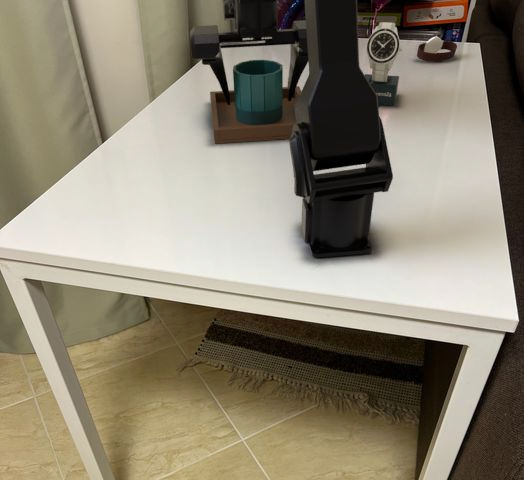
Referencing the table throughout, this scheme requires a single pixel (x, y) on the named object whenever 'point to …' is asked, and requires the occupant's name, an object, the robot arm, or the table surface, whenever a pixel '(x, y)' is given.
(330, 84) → the robot arm
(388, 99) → the watch
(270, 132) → the tray
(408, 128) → the table surface
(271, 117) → the teal faceted cup
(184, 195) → the table surface
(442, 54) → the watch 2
